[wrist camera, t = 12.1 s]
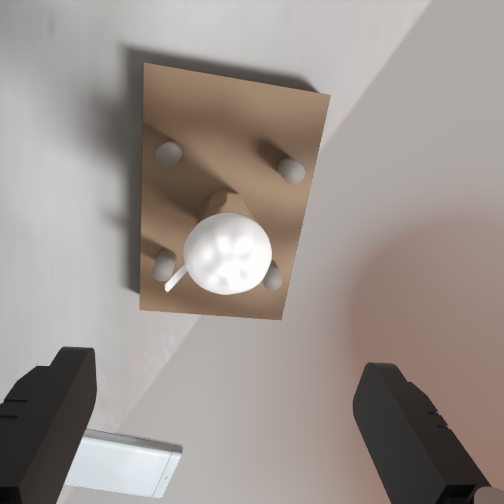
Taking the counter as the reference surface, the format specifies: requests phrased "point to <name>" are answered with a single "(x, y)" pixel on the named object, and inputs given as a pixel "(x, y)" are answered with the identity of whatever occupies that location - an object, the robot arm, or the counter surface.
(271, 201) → the peg plinth
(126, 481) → the hard drive
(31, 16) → the counter surface
